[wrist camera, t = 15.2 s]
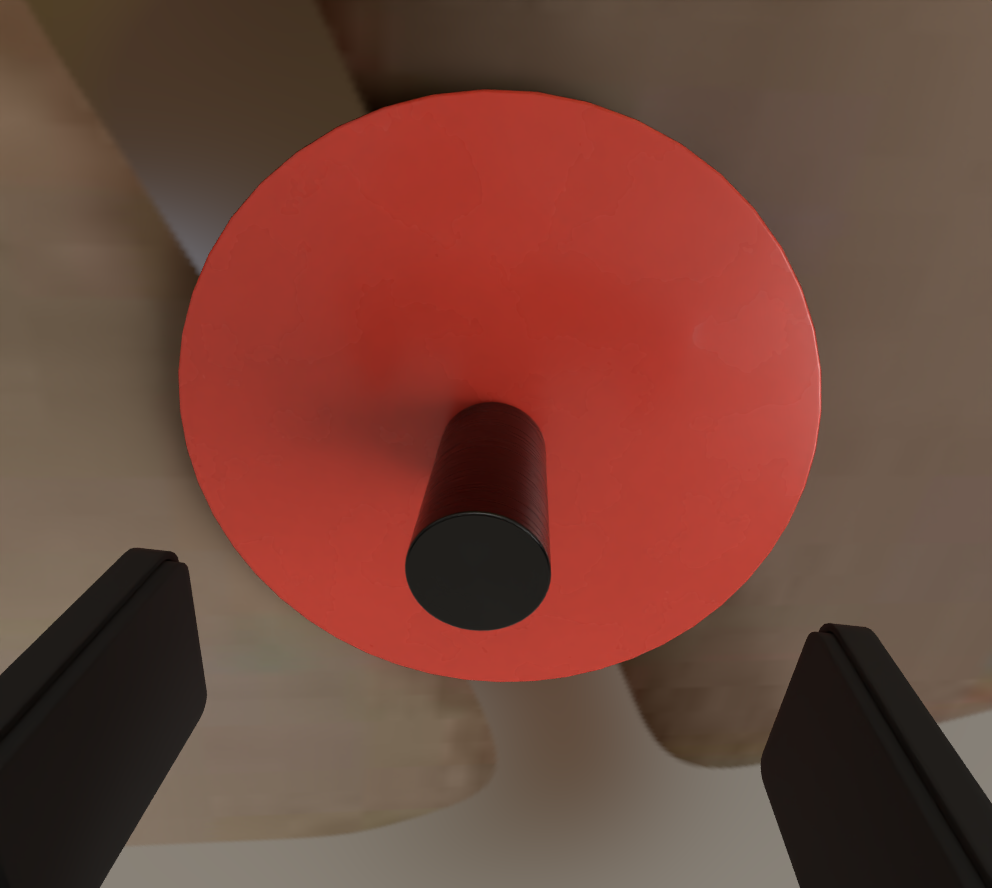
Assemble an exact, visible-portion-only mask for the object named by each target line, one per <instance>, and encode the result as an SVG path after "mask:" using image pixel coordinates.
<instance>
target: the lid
mask: <svg viewBox="0 0 992 888" xmlns="http://www.w3.org/2000/svg"><path fill="white" fill-rule="evenodd" d="M178 376H179V398H180V413H181V419H182V424H183V430H184V435H185V440H186V446H187V450H188V453H189V456H190V459H191V462H192V465H193V468H194V471H195V474H196V477H197V480H198V483H199V485H200V488H201V490H202V492H203V494H204V496H205V498H206V500H207V502H208V504H209V507H210V509H211V511H212V513H213V515H214V517H215V518H216V520H217V521H218V523H219V525H220V526H221V528H222V529H223V531H224V533H225V534H226V536H227V537H228V539H229V540H230V542H231V544H232V545H233V547H234V548H235V549H236V550H237V551H238V553H239V554H240V555H241V556H242V558H243V559H244V560H245V561H246V563H247V564H248V565H249V566H250V567H251V569H252V570H253V571H254V572H255V574H256V575H257V576H258V577H259V578H260V579H262V580H263V581H264V582H265V583H266V584H267V585H268V586H269V587H270V588H271V589H272V590H273V591H274V592H275V593H276V594H277V595H278V596H279V597H280V598H281V599H282V600H284V601H285V602H286V603H287V604H289V605H290V606H291V607H292V608H294V609H295V610H296V611H297V612H299V613H300V614H301V615H303V616H304V617H305V618H306V619H308V620H309V621H311V622H312V623H314V624H316V625H317V626H319V627H320V628H322V629H323V630H325V631H327V632H328V633H330V634H331V635H333V636H335V637H336V638H338V639H340V640H342V641H344V642H346V643H348V644H350V645H352V646H354V647H356V648H358V649H360V650H362V651H364V652H366V653H369V654H371V655H374V656H376V657H379V658H382V659H384V660H387V661H390V662H392V663H395V664H397V665H401V666H404V667H408V668H412V669H415V670H419V671H423V672H426V673H430V674H435V675H441V676H447V677H453V678H459V679H465V680H478V681H492V682H517V681H538V680H546V679H554V678H562V677H568V676H573V675H577V674H582V673H586V672H591V671H595V670H599V669H602V668H605V667H608V666H611V665H614V664H617V663H620V662H623V661H626V660H629V659H632V658H634V657H637V656H639V655H641V654H643V653H645V652H648V651H650V650H652V649H654V648H656V647H659V646H661V645H663V644H665V643H666V642H668V641H670V640H671V639H673V638H675V637H677V636H678V635H680V634H682V633H683V632H685V631H687V630H688V629H690V628H692V627H693V626H695V625H696V624H697V623H699V622H700V621H701V620H703V619H704V618H705V617H707V616H708V615H709V614H711V613H712V612H713V611H715V610H716V609H717V608H718V607H720V606H721V605H722V604H723V603H724V602H725V601H726V600H727V599H728V598H729V597H731V596H732V595H733V594H734V593H735V592H736V591H737V590H738V589H739V588H740V587H741V586H742V585H743V584H744V583H745V582H746V581H747V580H748V579H749V578H750V576H751V575H752V574H753V573H754V572H755V570H756V569H757V568H758V567H759V565H760V564H761V563H762V562H763V561H764V559H765V558H766V557H767V556H768V554H769V553H770V552H771V550H772V548H773V547H774V545H775V544H776V542H777V540H778V539H779V537H780V536H781V534H782V532H783V531H784V529H785V528H786V526H787V524H788V523H789V521H790V519H791V517H792V514H793V512H794V510H795V508H796V506H797V503H798V501H799V499H800V497H801V495H802V492H803V490H804V488H805V485H806V481H807V478H808V475H809V471H810V468H811V465H812V461H813V458H814V454H815V451H816V444H817V437H818V431H819V424H820V417H821V366H820V360H819V353H818V347H817V340H816V334H815V328H814V325H813V322H812V319H811V315H810V312H809V309H808V306H807V303H806V300H805V296H804V293H803V290H802V287H801V285H800V283H799V281H798V279H797V277H796V275H795V273H794V271H793V269H792V267H791V265H790V263H789V261H788V259H787V257H786V255H785V253H784V251H783V249H782V247H781V245H780V244H779V243H778V241H777V240H776V238H775V237H774V236H773V234H772V233H771V231H770V230H769V228H768V227H767V226H766V224H765V223H764V221H763V220H762V218H761V217H760V216H759V214H758V213H757V211H756V210H755V209H754V208H753V207H752V206H751V205H750V203H749V202H748V201H747V200H746V199H745V198H744V197H743V196H742V195H741V194H740V193H739V192H738V191H737V190H736V189H735V188H734V187H733V186H732V185H731V184H730V183H729V182H728V181H727V180H726V179H725V178H724V177H723V175H722V174H720V173H719V172H718V171H716V170H715V169H714V168H712V167H711V166H710V165H708V164H707V163H706V162H705V161H703V160H702V159H701V158H699V157H698V156H697V155H695V154H694V153H693V152H691V151H690V150H689V149H687V148H686V147H685V146H684V145H682V144H681V143H679V142H677V141H675V140H673V139H671V138H670V137H668V136H666V135H664V134H662V133H660V132H659V131H657V130H655V129H653V128H651V127H649V126H648V125H646V124H644V123H642V122H640V121H638V120H636V119H634V118H631V117H628V116H625V115H623V114H620V113H617V112H614V111H612V110H609V109H606V108H603V107H601V106H598V105H595V104H592V103H590V102H586V101H581V100H576V99H571V98H566V97H561V96H556V95H551V94H546V93H541V92H534V91H514V90H493V89H480V90H470V91H460V92H450V93H441V94H432V95H428V96H424V97H420V98H416V99H412V100H409V101H405V102H401V103H397V104H393V105H389V106H385V107H382V108H380V109H377V110H375V111H373V112H370V113H368V114H366V115H363V116H361V117H359V118H356V119H354V120H352V121H349V122H347V123H345V124H342V125H340V126H338V127H336V128H334V129H333V130H331V131H330V132H328V133H326V134H325V135H323V136H321V137H320V138H318V139H317V140H315V141H314V142H312V143H310V144H309V145H307V146H305V147H304V148H302V149H301V150H299V151H297V152H296V153H295V154H294V155H292V156H291V157H290V158H289V159H288V160H287V161H286V162H284V163H283V164H282V165H281V166H280V167H278V168H277V169H276V170H275V171H274V172H273V173H272V174H270V175H269V176H268V177H267V178H266V179H265V180H263V181H262V182H261V183H260V184H259V186H258V187H257V188H256V189H255V190H254V191H253V192H252V194H251V195H250V196H249V197H248V198H247V199H246V201H245V202H244V203H243V204H242V206H241V207H240V208H239V209H238V210H237V212H235V214H234V215H233V216H232V217H231V219H230V220H229V222H228V224H227V225H226V227H225V229H224V230H223V232H222V233H221V235H220V237H219V238H218V240H217V242H216V243H215V245H214V246H213V248H212V250H211V251H210V253H209V255H208V257H207V259H206V262H205V264H204V266H203V269H202V271H201V274H200V276H199V278H198V281H197V283H196V286H195V288H194V290H193V293H192V296H191V300H190V304H189V308H188V312H187V316H186V320H185V324H184V328H183V332H182V341H181V351H180V361H179V371H178Z"/></svg>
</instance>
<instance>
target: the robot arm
mask: <svg viewBox="0 0 992 888" xmlns="http://www.w3.org/2000/svg"><path fill="white" fill-rule="evenodd" d="M206 698H207V690H206V684H205V677H204V670H203V664H202V657H201V650H200V643H199V637H198V630H197V623H196V617H195V610H194V603H193V597H192V590H191V583H190V576H189V570H188V567H187V565H186V564H185V563H181V562H179V560H178V557H177V556H176V554H175V553H173V552H171V551H162V550H153V549H144V548H132V549H130V550H128V551H127V552H125V553H124V554H123V555H122V556H121V557H120V558H119V559H118V560H117V561H116V562H115V563H114V564H113V565H112V566H111V567H110V568H109V569H108V570H107V571H106V572H105V573H104V574H103V575H102V576H101V577H100V578H99V579H98V580H97V581H96V582H95V583H94V584H93V585H92V586H91V587H90V588H89V589H88V590H87V591H86V592H85V593H84V594H83V595H82V596H81V597H79V598H78V599H77V600H76V601H75V602H74V603H73V604H72V605H71V606H70V607H69V608H68V609H67V610H66V611H65V612H64V613H63V614H62V615H61V616H60V617H59V618H58V619H57V620H56V621H55V622H54V623H53V624H52V625H51V626H50V627H49V628H48V629H47V630H46V631H45V632H44V633H43V634H42V635H41V636H40V637H39V638H38V639H37V640H36V641H35V642H34V643H33V644H32V645H31V646H30V647H29V648H28V649H26V650H25V651H24V652H23V653H22V654H21V655H20V656H19V657H18V658H17V659H16V660H15V661H14V662H13V663H12V664H11V665H10V666H9V667H8V668H7V669H6V670H5V671H4V672H3V673H2V674H1V675H0V888H100V886H101V885H102V883H103V881H104V879H105V878H106V876H107V874H108V873H109V871H110V869H111V868H112V866H113V864H114V863H115V861H116V859H117V857H118V856H119V854H120V853H121V851H122V849H123V847H124V846H125V844H126V842H127V841H128V839H129V837H130V836H131V834H132V832H133V831H134V829H135V827H136V826H137V824H138V822H139V821H140V819H141V817H142V815H143V814H144V812H145V810H146V809H147V807H148V805H149V804H150V802H151V800H152V799H153V797H154V795H155V794H156V792H157V790H158V788H159V787H160V785H161V783H162V782H163V780H164V778H165V777H166V775H167V773H168V772H169V770H170V768H171V767H172V765H173V763H174V762H175V760H176V758H177V756H178V755H179V753H180V751H181V750H182V748H183V746H184V745H185V743H186V741H187V740H188V738H189V736H190V735H191V733H192V731H193V729H194V728H195V726H196V724H197V723H198V721H199V719H200V717H201V715H202V713H203V711H204V708H205V704H206ZM761 774H762V780H763V783H764V786H765V789H766V792H767V795H768V798H769V800H770V803H771V806H772V809H773V812H774V815H775V818H776V820H777V823H778V826H779V829H780V832H781V834H782V837H783V840H784V843H785V846H786V849H787V852H788V854H789V857H790V860H791V863H792V866H793V869H794V871H795V875H796V877H797V880H798V883H799V886H800V888H992V803H991V802H990V800H989V799H988V798H987V796H986V795H985V793H984V792H983V790H982V789H981V787H980V786H979V784H978V783H977V781H976V780H975V779H974V777H973V776H972V774H971V773H970V771H969V770H968V768H967V767H966V765H965V764H964V763H963V761H962V760H961V758H960V757H959V755H958V754H957V752H956V751H955V749H954V748H953V746H952V745H951V744H950V742H949V741H948V739H947V738H946V736H945V735H944V734H943V732H942V731H941V729H940V728H939V726H938V725H937V723H936V722H935V720H934V719H933V717H932V716H931V714H930V713H929V712H928V710H927V709H926V707H925V706H924V704H923V703H922V701H921V700H920V698H919V697H918V696H917V694H916V693H915V691H914V690H913V688H912V687H911V685H910V684H909V682H908V681H907V680H906V678H905V677H904V675H903V674H902V672H901V671H900V669H899V668H898V666H897V665H896V664H895V662H894V661H893V659H892V658H891V656H890V655H889V653H888V652H887V650H886V649H885V648H884V646H883V645H882V643H881V642H880V640H879V639H878V637H877V636H876V635H875V633H874V632H873V631H872V630H871V629H869V628H866V627H859V626H850V625H841V624H832V623H828V624H824V625H823V626H822V627H821V628H820V630H819V632H811V633H810V634H809V635H808V637H807V639H806V642H805V644H804V647H803V649H802V652H801V655H800V657H799V660H798V663H797V665H796V668H795V670H794V673H793V676H792V678H791V681H790V683H789V686H788V689H787V691H786V694H785V696H784V699H783V702H782V704H781V707H780V709H779V712H778V715H777V717H776V720H775V722H774V725H773V728H772V730H771V733H770V736H769V738H768V741H767V743H766V746H765V749H764V751H763V754H762V758H761Z"/></svg>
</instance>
